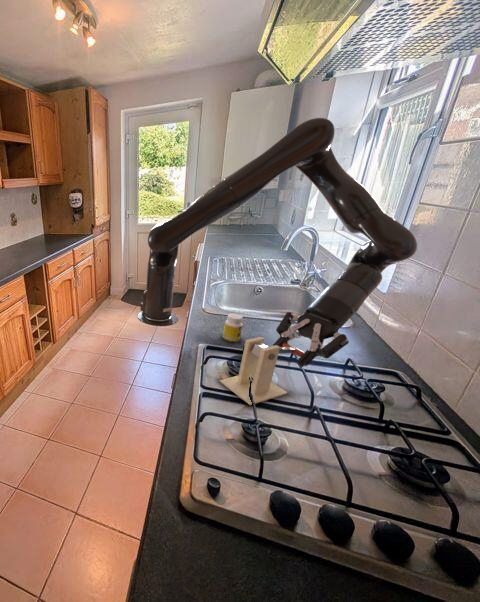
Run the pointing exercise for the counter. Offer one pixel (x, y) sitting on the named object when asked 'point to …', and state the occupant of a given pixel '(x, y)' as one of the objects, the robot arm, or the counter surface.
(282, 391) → the bracket
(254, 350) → the lever
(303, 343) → the counter surface
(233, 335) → the supplement bottle
